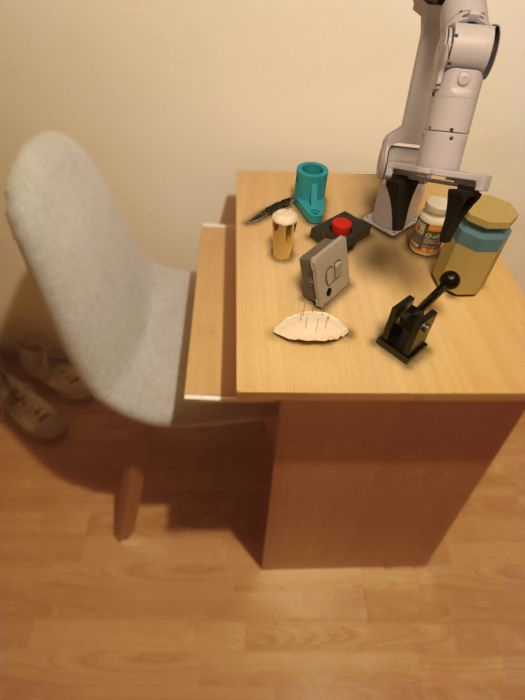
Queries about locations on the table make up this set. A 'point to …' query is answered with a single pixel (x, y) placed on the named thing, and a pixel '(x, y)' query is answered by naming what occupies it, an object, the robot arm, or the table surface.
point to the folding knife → (271, 209)
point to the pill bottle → (429, 227)
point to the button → (341, 226)
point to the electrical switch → (325, 270)
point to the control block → (356, 234)
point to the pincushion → (311, 326)
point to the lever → (429, 300)
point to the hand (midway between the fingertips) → (420, 235)
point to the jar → (477, 244)
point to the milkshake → (283, 232)
